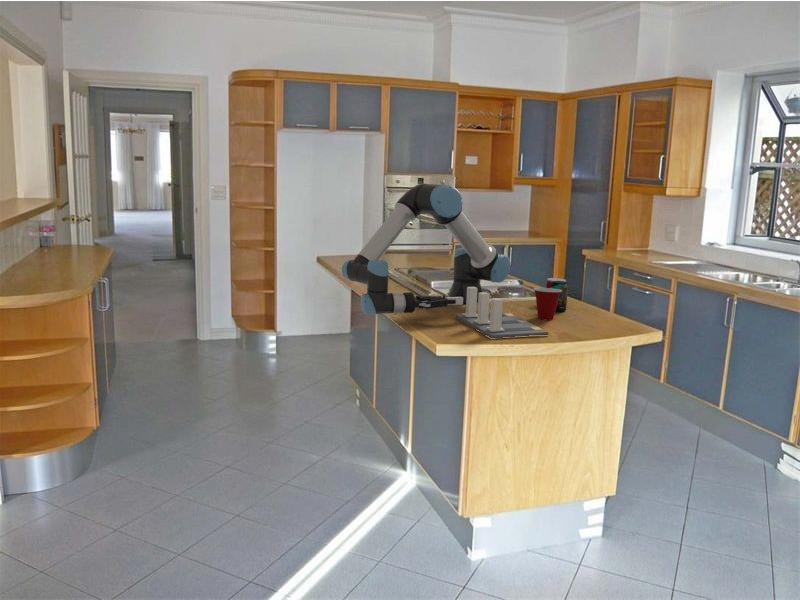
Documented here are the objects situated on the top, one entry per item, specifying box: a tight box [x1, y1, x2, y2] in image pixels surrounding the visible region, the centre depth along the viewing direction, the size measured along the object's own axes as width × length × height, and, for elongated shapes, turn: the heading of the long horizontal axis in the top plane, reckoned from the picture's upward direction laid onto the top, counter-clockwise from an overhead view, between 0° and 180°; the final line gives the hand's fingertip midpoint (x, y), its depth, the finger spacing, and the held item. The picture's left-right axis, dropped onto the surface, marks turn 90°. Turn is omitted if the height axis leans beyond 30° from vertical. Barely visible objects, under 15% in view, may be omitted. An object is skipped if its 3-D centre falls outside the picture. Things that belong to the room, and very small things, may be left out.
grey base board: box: [455, 311, 549, 339], centre depth 261 cm, size 33×22×2 cm, turn 17°
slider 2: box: [474, 291, 491, 324], centre depth 257 cm, size 4×5×11 cm
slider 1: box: [462, 287, 478, 317], centre depth 268 cm, size 4×5×11 cm
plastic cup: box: [533, 287, 562, 321], centre depth 275 cm, size 11×11×12 cm
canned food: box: [546, 277, 567, 288], centre depth 302 cm, size 8×8×11 cm
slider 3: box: [486, 297, 504, 332], centre depth 247 cm, size 4×5×11 cm
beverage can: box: [550, 281, 569, 313], centre depth 290 cm, size 7×7×12 cm
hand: (462, 300), depth 266 cm, fingers closed
